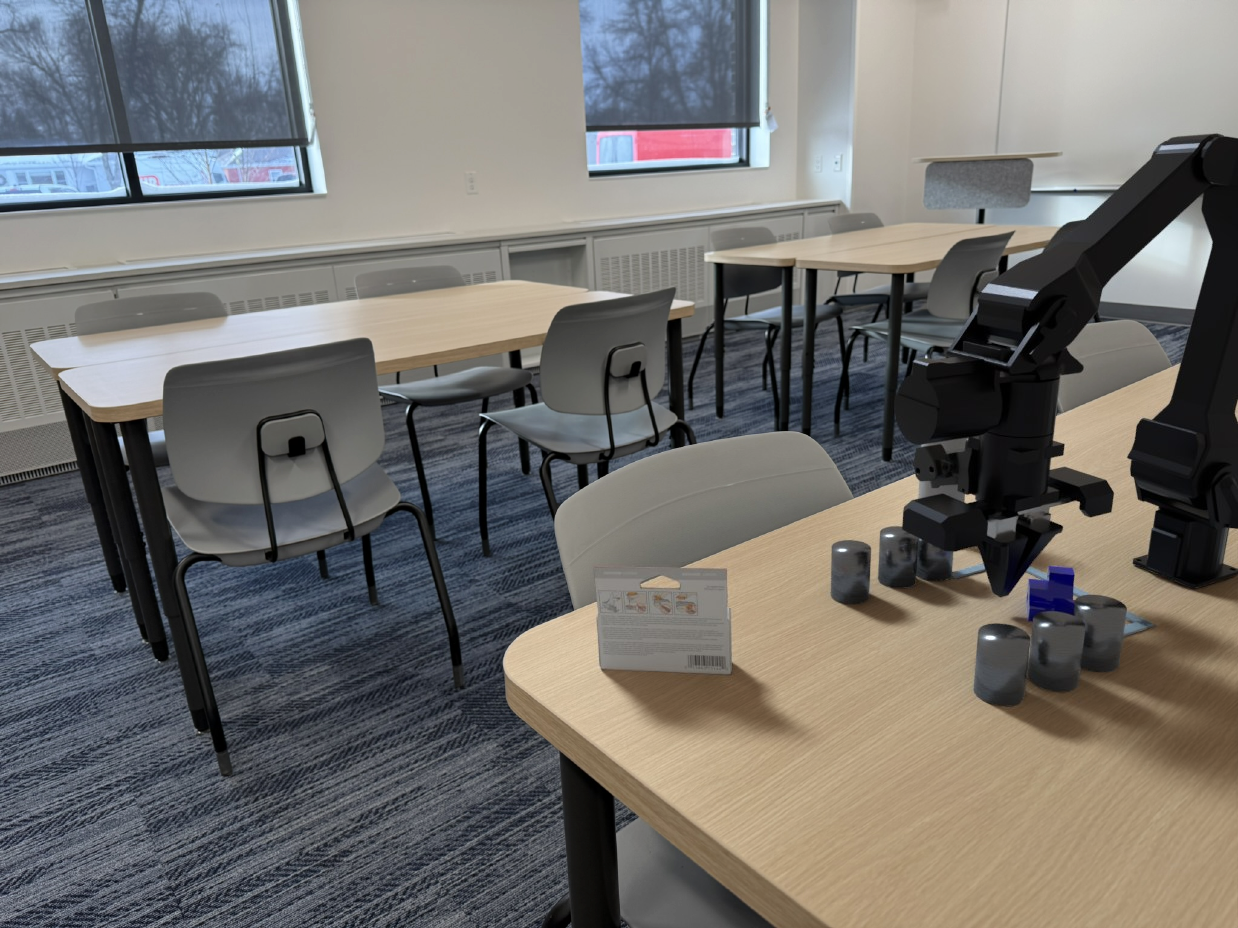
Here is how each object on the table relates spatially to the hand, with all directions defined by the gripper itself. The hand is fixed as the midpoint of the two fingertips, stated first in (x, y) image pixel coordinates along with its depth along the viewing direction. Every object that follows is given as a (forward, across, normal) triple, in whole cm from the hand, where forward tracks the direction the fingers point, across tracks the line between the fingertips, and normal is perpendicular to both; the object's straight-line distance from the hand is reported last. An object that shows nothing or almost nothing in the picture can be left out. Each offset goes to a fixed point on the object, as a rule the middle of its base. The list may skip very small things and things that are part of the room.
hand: (1000, 594), depth 77 cm
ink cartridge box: (+2, +31, -6) cm, 31 cm away
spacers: (+2, +5, 0) cm, 5 cm away
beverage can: (+2, -8, -17) cm, 19 cm away
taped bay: (+2, -5, 0) cm, 6 cm away
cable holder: (+2, -2, +4) cm, 5 cm away
